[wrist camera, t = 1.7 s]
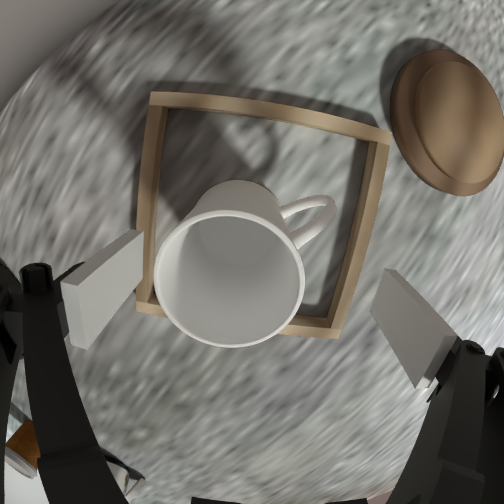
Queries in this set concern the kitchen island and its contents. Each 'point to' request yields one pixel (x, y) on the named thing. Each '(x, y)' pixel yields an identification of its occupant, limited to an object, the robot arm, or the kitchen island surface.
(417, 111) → the brown wooden saucer
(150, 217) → the square wooden frame
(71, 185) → the kitchen island surface
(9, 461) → the disposable coffee cup
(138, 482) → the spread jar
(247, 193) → the mug
